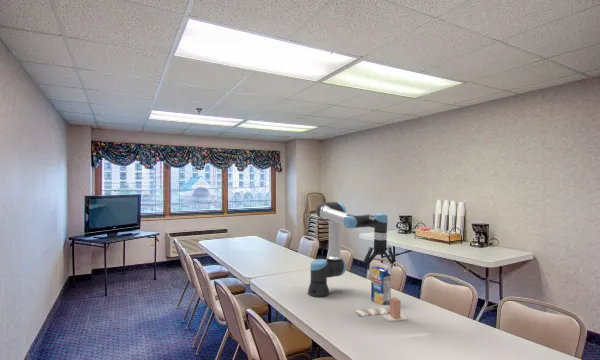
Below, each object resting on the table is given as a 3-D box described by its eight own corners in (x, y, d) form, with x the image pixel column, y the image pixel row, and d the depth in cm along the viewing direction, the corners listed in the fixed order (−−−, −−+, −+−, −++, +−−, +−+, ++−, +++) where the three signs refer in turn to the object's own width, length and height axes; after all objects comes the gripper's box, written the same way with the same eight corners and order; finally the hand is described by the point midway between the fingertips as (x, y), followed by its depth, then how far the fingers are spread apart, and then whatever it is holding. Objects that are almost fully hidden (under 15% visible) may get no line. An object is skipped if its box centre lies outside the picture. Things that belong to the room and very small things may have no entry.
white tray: (366, 325, 179) (366, 322, 179) (353, 313, 196) (353, 310, 196) (409, 321, 185) (409, 318, 185) (392, 309, 202) (392, 306, 202)
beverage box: (383, 305, 209) (383, 271, 209) (371, 300, 218) (371, 267, 219) (390, 303, 213) (391, 270, 213) (378, 298, 222) (378, 266, 222)
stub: (388, 321, 182) (388, 302, 182) (382, 316, 189) (382, 297, 189) (407, 319, 185) (408, 300, 185) (400, 314, 192) (401, 296, 192)
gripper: (364, 240, 189) (362, 276, 190) (402, 239, 195) (401, 275, 196) (358, 238, 197) (357, 273, 197) (395, 237, 203) (394, 271, 203)
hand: (379, 274), depth 196 cm, fingers open, 13 cm apart
